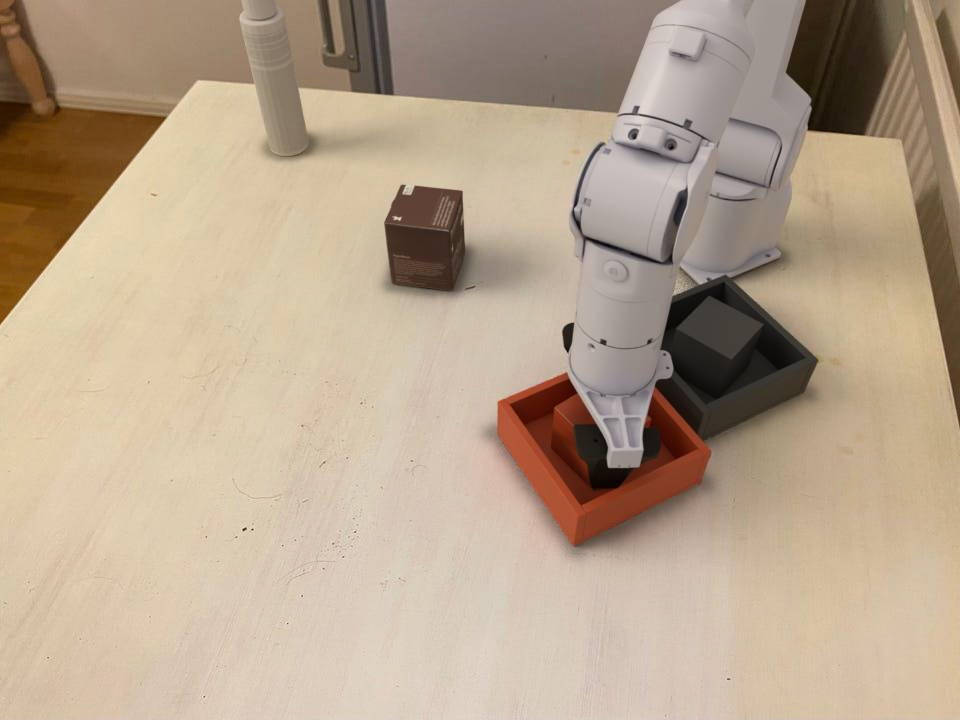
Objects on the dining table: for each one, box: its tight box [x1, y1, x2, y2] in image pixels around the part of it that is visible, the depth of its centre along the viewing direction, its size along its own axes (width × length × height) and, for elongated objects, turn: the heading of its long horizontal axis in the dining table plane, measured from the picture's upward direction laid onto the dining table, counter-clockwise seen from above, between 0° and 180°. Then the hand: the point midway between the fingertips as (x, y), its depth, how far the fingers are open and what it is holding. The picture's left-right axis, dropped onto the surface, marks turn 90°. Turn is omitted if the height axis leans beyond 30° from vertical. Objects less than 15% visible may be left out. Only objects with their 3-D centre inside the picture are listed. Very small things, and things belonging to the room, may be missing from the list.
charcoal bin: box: [655, 274, 820, 442], centre depth 67 cm, size 11×11×4 cm
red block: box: [551, 393, 651, 491], centre depth 61 cm, size 5×5×5 cm
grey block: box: [670, 296, 763, 399], centre depth 66 cm, size 5×5×5 cm
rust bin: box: [496, 371, 712, 547], centre depth 61 cm, size 11×11×4 cm
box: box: [383, 184, 466, 291], centre depth 75 cm, size 6×6×7 cm
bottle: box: [238, 0, 310, 157], centre depth 84 cm, size 4×4×20 cm
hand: (598, 442), depth 61 cm, fingers closed on red block, 7 cm apart
